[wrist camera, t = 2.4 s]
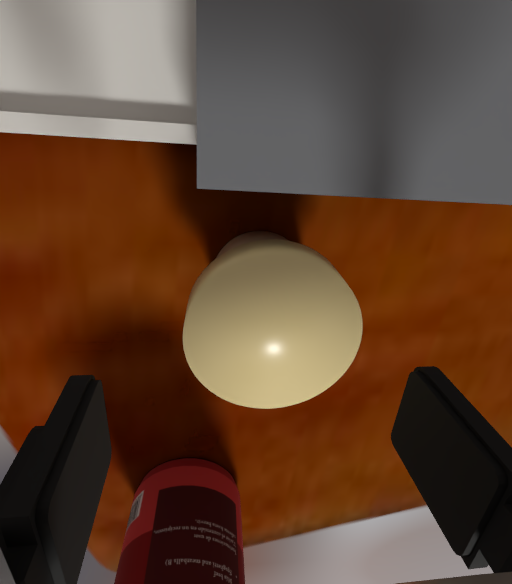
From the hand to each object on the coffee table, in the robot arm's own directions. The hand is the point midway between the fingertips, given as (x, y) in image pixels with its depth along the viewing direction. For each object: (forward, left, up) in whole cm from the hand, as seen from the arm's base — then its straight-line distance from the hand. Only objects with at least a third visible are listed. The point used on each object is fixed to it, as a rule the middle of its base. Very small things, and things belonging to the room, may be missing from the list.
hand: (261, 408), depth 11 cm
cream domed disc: (0, -1, -5) cm, 5 cm away
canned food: (-14, +11, -10) cm, 20 cm away
